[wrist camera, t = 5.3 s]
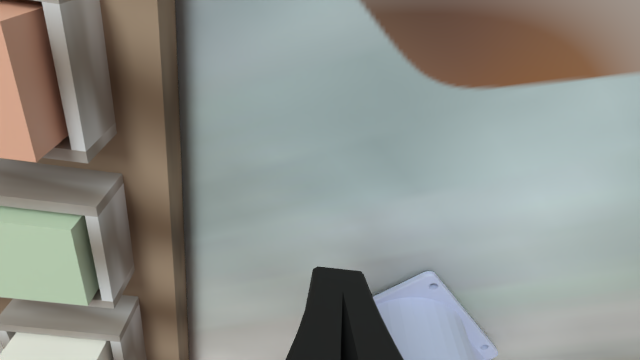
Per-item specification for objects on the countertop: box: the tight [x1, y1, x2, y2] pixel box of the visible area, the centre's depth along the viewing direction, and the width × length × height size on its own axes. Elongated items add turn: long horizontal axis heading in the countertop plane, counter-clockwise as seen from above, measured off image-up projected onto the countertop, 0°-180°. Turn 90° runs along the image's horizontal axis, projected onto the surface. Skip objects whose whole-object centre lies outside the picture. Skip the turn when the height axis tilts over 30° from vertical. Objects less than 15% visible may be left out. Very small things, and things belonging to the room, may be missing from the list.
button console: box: [0, 0, 189, 360], centre depth 19 cm, size 28×10×4 cm, turn 172°
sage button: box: [0, 206, 99, 306], centre depth 18 cm, size 4×4×3 cm
